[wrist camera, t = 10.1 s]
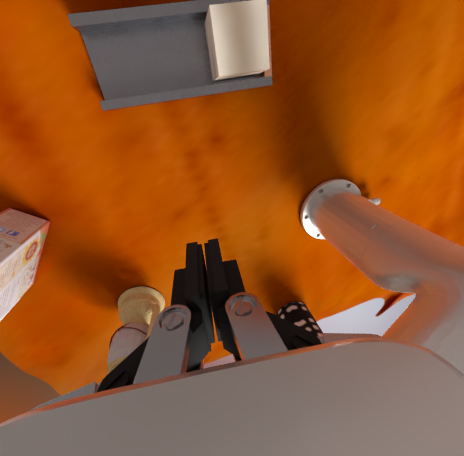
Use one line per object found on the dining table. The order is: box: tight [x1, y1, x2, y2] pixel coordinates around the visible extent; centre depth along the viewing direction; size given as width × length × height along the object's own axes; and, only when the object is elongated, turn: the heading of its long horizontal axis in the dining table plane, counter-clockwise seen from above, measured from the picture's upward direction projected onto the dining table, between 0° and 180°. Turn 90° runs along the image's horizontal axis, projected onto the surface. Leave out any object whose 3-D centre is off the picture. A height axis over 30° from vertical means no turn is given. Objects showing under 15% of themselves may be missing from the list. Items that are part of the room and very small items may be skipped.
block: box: [204, 0, 270, 81], centre depth 27 cm, size 6×6×6 cm
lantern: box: [107, 286, 165, 375], centre depth 35 cm, size 12×10×30 cm
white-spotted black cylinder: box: [277, 302, 323, 336], centre depth 50 cm, size 8×8×20 cm
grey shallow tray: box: [67, 0, 272, 110], centre depth 28 cm, size 22×9×3 cm, turn 98°
